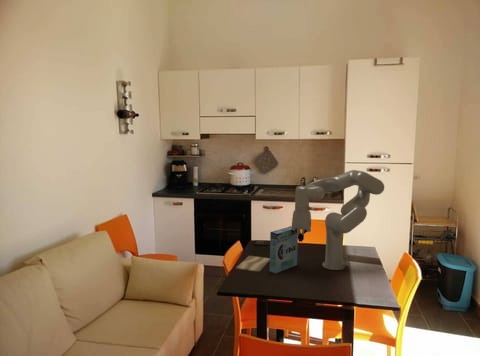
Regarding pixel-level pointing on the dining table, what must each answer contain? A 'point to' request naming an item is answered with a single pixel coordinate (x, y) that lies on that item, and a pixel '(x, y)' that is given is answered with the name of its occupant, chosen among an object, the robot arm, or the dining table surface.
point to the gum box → (283, 249)
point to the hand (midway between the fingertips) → (300, 241)
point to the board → (253, 263)
